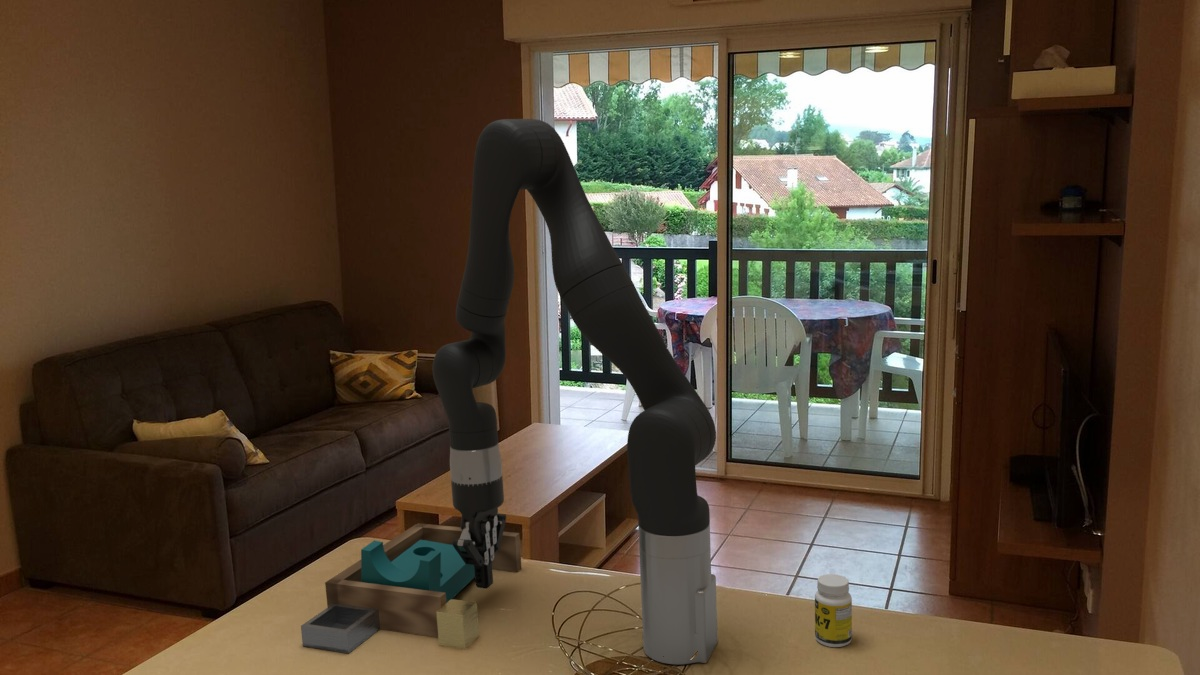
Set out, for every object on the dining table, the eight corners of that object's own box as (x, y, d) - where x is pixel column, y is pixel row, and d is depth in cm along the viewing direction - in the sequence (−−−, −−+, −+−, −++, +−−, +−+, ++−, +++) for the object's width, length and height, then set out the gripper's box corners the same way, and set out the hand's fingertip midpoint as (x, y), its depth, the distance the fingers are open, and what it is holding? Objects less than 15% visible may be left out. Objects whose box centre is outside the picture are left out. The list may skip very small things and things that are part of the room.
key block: (478, 636, 133) (476, 602, 132) (465, 649, 129) (462, 614, 129) (453, 632, 135) (451, 599, 134) (439, 645, 131) (436, 611, 130)
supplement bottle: (808, 635, 129) (807, 576, 128) (838, 628, 130) (837, 569, 129) (828, 651, 124) (828, 589, 123) (859, 643, 126) (859, 583, 125)
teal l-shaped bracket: (428, 630, 137) (429, 561, 135) (361, 617, 140) (361, 549, 138) (480, 579, 154) (482, 517, 152) (420, 568, 157) (420, 507, 155)
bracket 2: (521, 568, 156) (519, 533, 155) (443, 638, 133) (440, 597, 132) (420, 557, 163) (417, 523, 162) (328, 621, 140) (325, 582, 139)
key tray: (380, 628, 137) (378, 609, 136) (348, 653, 130) (346, 632, 129) (336, 622, 139) (334, 603, 139) (302, 646, 132) (300, 625, 132)
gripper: (477, 490, 134) (486, 607, 136) (519, 463, 146) (526, 571, 149) (430, 486, 136) (440, 601, 139) (475, 460, 149) (483, 566, 151)
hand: (484, 585), depth 144 cm, fingers closed
